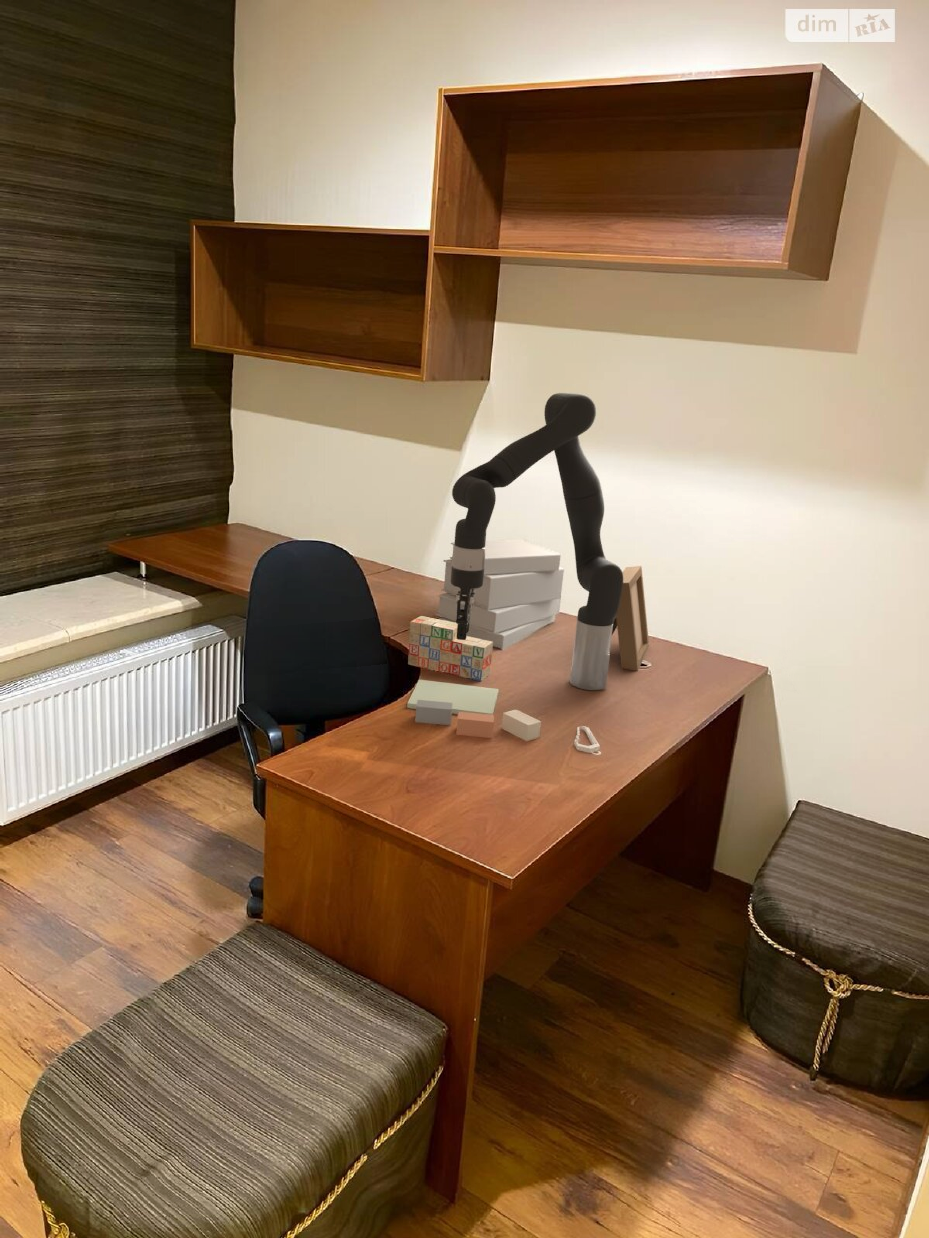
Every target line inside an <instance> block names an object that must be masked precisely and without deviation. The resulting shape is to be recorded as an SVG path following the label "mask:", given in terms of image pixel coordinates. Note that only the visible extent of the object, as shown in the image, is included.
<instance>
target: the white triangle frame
mask: <svg viewBox="0 0 929 1238" xmlns="http://www.w3.org/2000/svg"><path fill="white" fill-rule="evenodd" d="M580 730H584V732H585V733H586V736H587V738H588V740H589V742H590V745H585V744H581V743H580V736H581V732H580ZM573 745H574V747H575V748H576V751H582V752H584V753H588V754H589V753H590V754H593V755H596V756H600V755H601V754H602V752H601V751H600V749H601V747H600V746H601V745H600V744H599V742H598V741H597V738H596V737H595V736H594V734H593V732H592V731H591V729H590V727H589V726H584V725H581V726H577V727H576V735H575V739H574V741H573ZM596 752H597V753H596Z"/></svg>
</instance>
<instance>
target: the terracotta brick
mask: <svg viewBox="0 0 929 1238" xmlns="http://www.w3.org/2000/svg"><path fill="white" fill-rule="evenodd" d="M456 722H457V723H456V732H455V733H456V736H457V735H459V736H466V737H467V736H468V737H478V738H488V739H493V733H494V725H495V715H494V714H493V715H488V714H478V713H468V712H459V713H458V714H457V721H456Z"/></svg>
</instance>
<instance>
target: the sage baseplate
mask: <svg viewBox="0 0 929 1238" xmlns="http://www.w3.org/2000/svg"><path fill="white" fill-rule="evenodd" d="M498 696H499V688H492V687H491V688H490V687H484V686H483V687H482V686H476V685H467V684H461V683H460V684H459V683H458V684H457V683H451V682H441V681H435V680H428V679H427V680H425V679H418V680H417V683H416V685H415V688H414V689H413V691H412V693H411V695H410V697H409V699H408V701H407V703H406V704H407V705H406V708H407V709H413V710H416V705H417V701H418V700H427V701H438V702H448V703H452V715H453V714H454V715H458V713H459V712H468V713H478V714H488V715H494V712H495V709H496V708H495V707H496V705H497V700H498Z"/></svg>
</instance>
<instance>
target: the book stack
mask: <svg viewBox="0 0 929 1238" xmlns="http://www.w3.org/2000/svg"><path fill="white" fill-rule="evenodd" d="M454 543H455V541H454V542H451V543H450V544H451V545H452V551H453V550H454ZM449 558H450V559H443V562H444V563H445V569H444V571H445V573H444V583H443V588H441V589H440V590H441V591H443V592H445V593H440V594H437V595H436V597H439V601H438V602H439V603H438V613H435V615H436V616H438V617H440V618H438V619H439V620H445V621H449V622H454V623H456V619H457V613H456V607H457V600H456V597H457V594H458V591H460V588H459V587H455V586H453V585H452V584H451V568H452V556H450V557H449ZM560 564H561V553H559V552H557V551H555V550H554V551H553V550H552V549H548V548H546V547H543V546H541V545H539V544H537V543H535V542H532V541H529V540H526V539H507V540H504V539H503V540H486V542H485V567H484V579H483V586H482V587H480V588H476V589H474V591H473V592H475V598H474V602H473V609H472V611H471V616H470V621H469V631H468V633H467V635H466V636H469V637H473V638H478V639H482V640H487V641H492V642H493V647H494V648H497V647H498V648H497V649H501V650H502V651H504V650H505V649H507V648H508V647H511V646H513V645H514V644H516V643H518V642H520V641H522V640H523V639H526V638H527V637H529V636H531V635H533V634H535V632H536V631H538V630H539V629H542V628H543V627H545V626H547V625H549V624H551V623H553V622H554V621H555V620H556V615H559V614H560V611H561V610H560V607H561V602H562V601H561V600H562V590H563V589H562V588H563V580H564V573H565V570H564V568H563V567H560ZM460 617H462V616H460Z"/></svg>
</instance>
